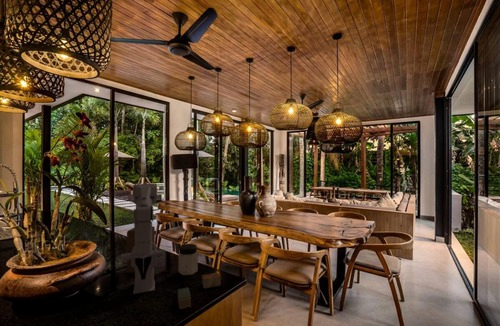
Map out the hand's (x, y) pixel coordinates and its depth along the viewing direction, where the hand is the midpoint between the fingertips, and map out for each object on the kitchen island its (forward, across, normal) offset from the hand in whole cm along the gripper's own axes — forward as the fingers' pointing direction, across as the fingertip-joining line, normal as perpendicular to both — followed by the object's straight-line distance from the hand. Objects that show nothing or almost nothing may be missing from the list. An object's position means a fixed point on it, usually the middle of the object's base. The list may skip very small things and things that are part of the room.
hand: (143, 278), depth 90 cm
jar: (+10, +19, +25) cm, 33 cm away
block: (+10, -2, +36) cm, 38 cm away
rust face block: (+8, +23, +8) cm, 26 cm away
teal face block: (+9, +14, +2) cm, 16 cm away
